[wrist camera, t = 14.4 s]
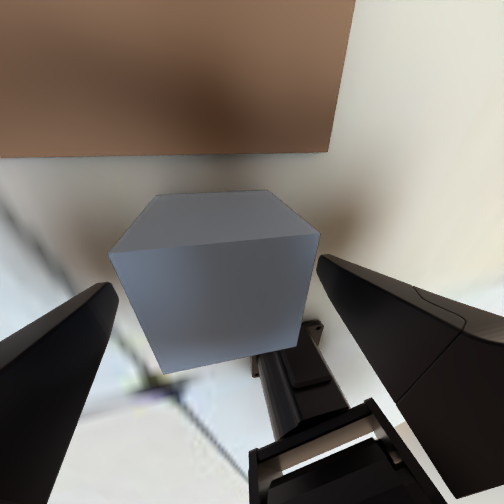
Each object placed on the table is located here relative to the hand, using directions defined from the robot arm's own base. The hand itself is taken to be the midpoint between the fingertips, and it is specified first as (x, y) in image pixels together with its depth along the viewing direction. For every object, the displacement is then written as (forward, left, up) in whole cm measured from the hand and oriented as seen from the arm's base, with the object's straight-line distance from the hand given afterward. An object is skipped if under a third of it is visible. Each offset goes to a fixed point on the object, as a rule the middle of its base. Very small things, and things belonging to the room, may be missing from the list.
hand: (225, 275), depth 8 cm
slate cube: (0, 0, -3) cm, 3 cm away
